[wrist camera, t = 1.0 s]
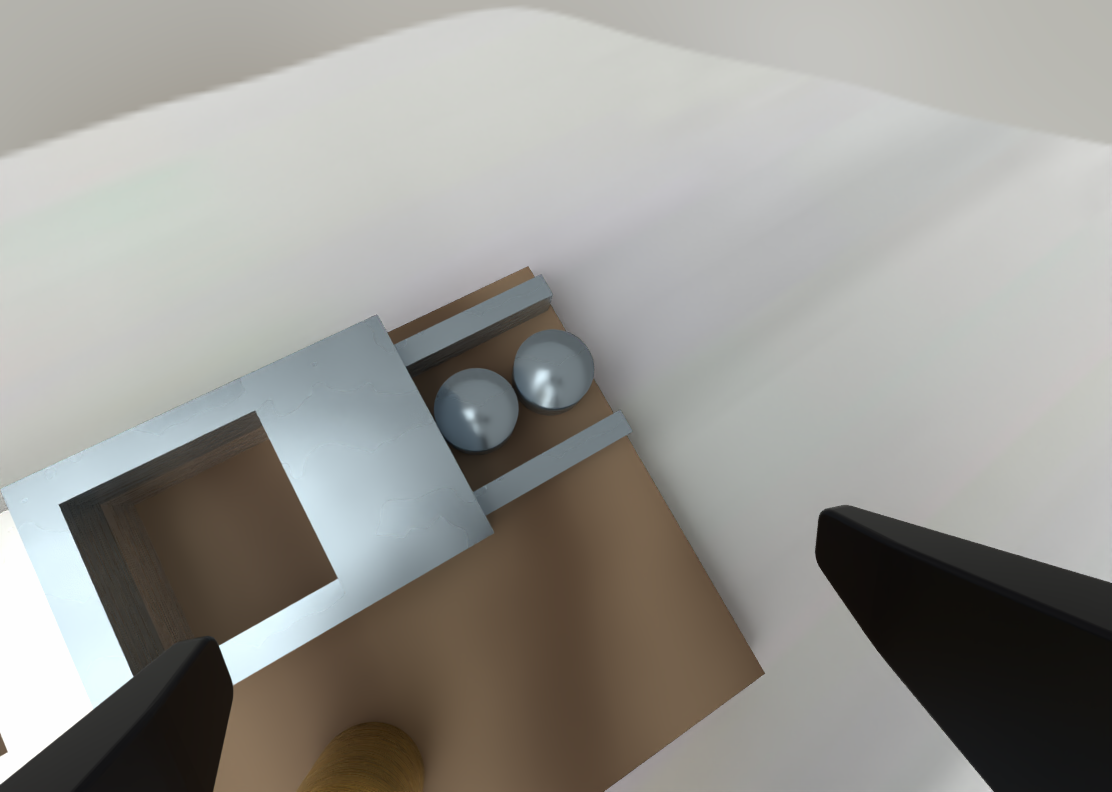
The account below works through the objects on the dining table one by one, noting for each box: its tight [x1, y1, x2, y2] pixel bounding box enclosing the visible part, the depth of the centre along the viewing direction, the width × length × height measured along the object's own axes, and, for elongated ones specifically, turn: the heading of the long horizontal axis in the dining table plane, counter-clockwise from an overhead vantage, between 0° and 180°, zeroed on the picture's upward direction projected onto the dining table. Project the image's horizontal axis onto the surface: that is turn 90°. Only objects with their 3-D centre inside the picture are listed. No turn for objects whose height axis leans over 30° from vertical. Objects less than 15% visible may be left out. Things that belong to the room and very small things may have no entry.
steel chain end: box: [0, 426, 269, 784], centre depth 15 cm, size 15×7×2 cm, turn 120°
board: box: [0, 267, 765, 792], centre depth 17 cm, size 24×16×2 cm, turn 120°
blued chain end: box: [0, 275, 633, 709], centre depth 16 cm, size 15×7×3 cm, turn 120°
